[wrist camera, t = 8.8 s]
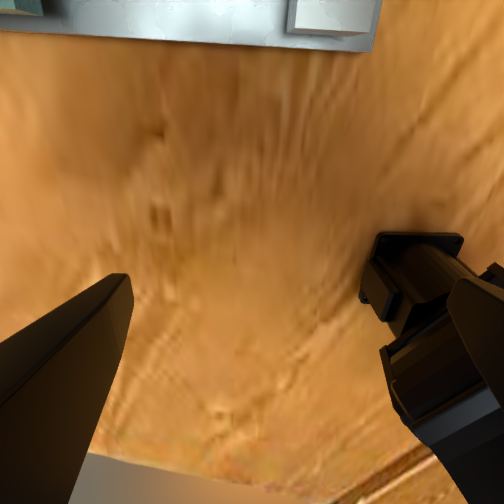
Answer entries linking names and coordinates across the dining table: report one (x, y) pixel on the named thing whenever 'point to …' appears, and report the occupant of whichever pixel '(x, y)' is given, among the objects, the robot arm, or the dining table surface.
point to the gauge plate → (212, 22)
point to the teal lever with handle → (21, 7)
